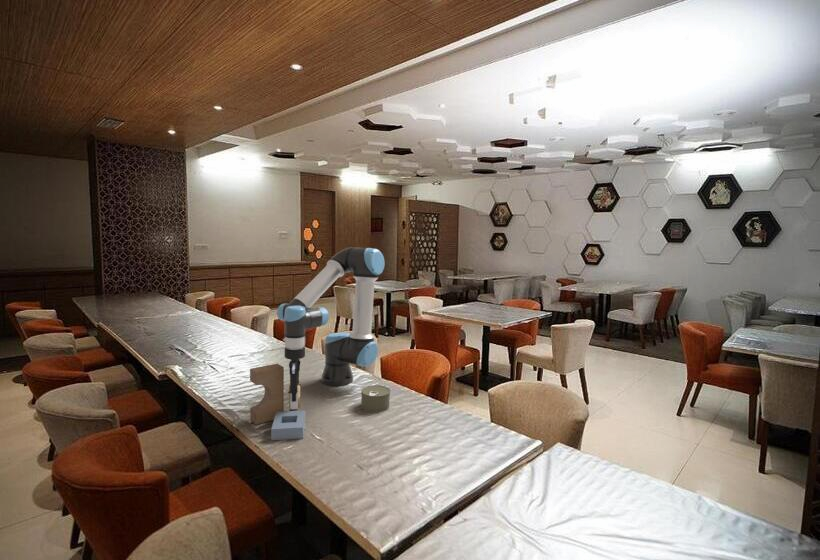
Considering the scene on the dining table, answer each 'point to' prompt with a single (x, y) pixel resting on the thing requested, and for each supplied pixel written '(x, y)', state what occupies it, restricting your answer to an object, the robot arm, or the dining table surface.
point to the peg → (298, 399)
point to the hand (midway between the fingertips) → (294, 406)
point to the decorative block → (268, 392)
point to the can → (375, 398)
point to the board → (288, 425)
